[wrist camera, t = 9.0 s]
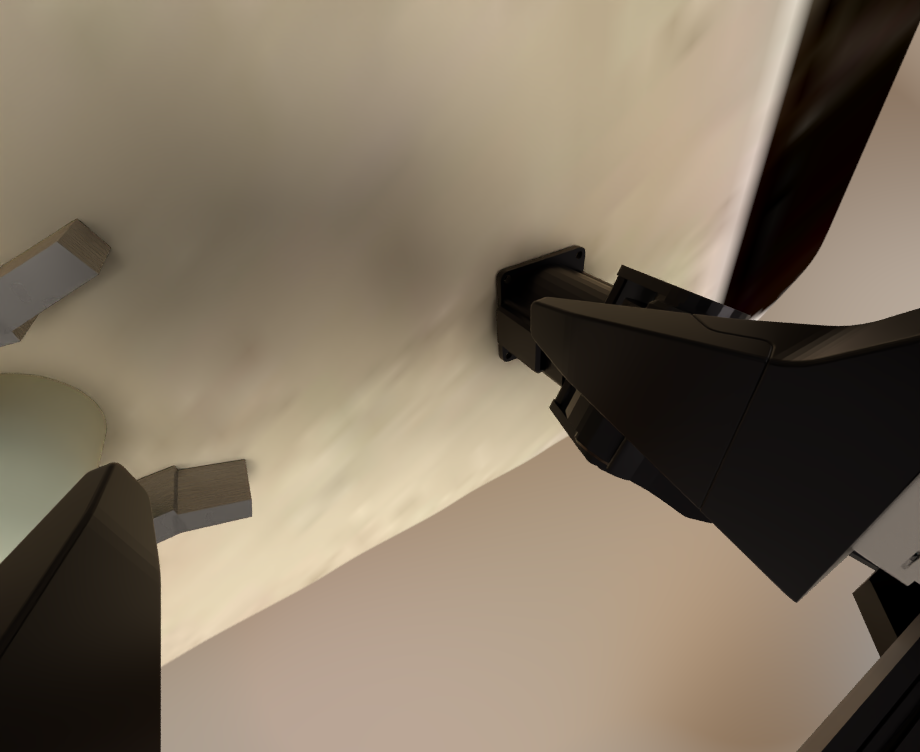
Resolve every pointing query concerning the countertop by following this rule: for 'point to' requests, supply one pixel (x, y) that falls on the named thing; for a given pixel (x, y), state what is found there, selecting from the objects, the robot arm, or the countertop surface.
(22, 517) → the grey rounded piece
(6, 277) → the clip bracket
